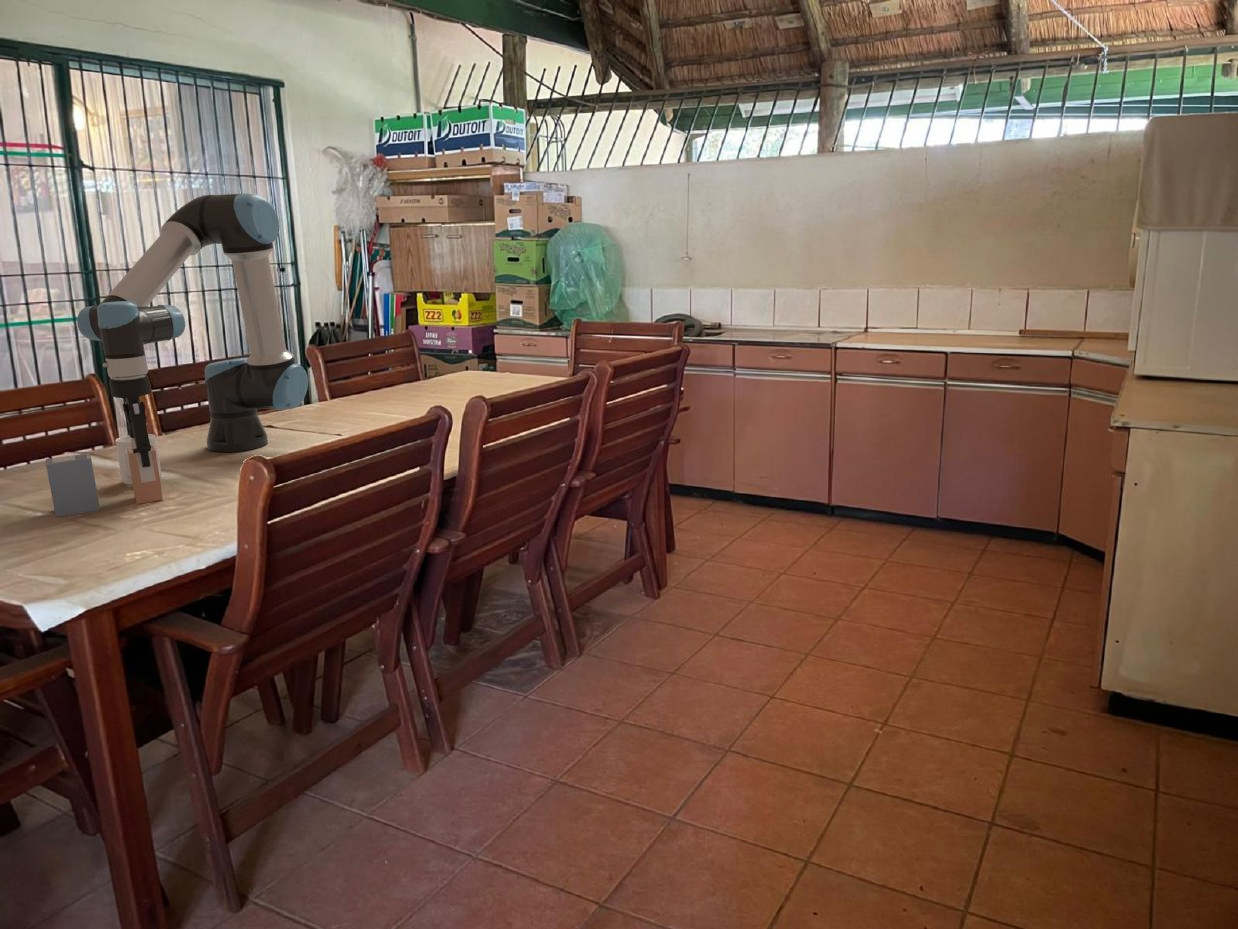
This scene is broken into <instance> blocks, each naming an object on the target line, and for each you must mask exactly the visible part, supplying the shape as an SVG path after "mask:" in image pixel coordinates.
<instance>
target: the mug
mask: <svg viewBox="0 0 1238 929" xmlns="http://www.w3.org/2000/svg"><path fill="white" fill-rule="evenodd" d="M148 437H149V442H150V445H153V447H154V449H155V451H156V457H157V464H158V470H159V477H160V479H162V469H161V463H160V457H159V449H158V442H157V437H156V435H155V434H151V433H148ZM130 439H133V438H131V437H130V435H125V436H121V437H118V438H116V439H115V441H114V442H115V446H116V452H117V458H118V465H119V470H120V476H121V481H122V483H123V484H125V485H127V486H133V484H132V478H131V471H130V465H129V459H128V453H127V448H128V447H131V448H132V445H131V440H130Z"/></svg>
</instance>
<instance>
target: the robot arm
mask: <svg viewBox="0 0 1238 929" xmlns="http://www.w3.org/2000/svg"><path fill="white" fill-rule="evenodd" d="M280 229H281V228H280V219H279V216H278V214H277V211H276V209H275V208H274V206H273V205H272V203H271V202H270V201H268V199H267V198H265V197H264V196H262V195H260V194H256V193H247V192H246V193H245V192H244V193H243V192H242V193H231V194H230V193H227V194H226V193H225V194H206V195H205V194H204V195H201V196H198V197H196V198H194V199H191V200H190V201H188V202H186V203H185V204H183V206H181V207H180V208H179V209H177V210H176V211H175V212H174V213H173V214H172V215H171V216H170V217H169V218H168V219H166V221H165V222H164V223H163V224H162V226H161V229H160V230H161V231H160V232H161V233H160V235H159V236H158V237H157V239H156V240H155V241H154V242H153V243H152V244H151V245H150V246H149V248H147V250H146V251H145V252H144V253H143V254H142V256H141V257H140V258H139V259H138V260H137V261H136V262H135V263H134V265H133V266H132V267H131V268H130V269H129V270H128V271H127V273H126V274H125V275H124V276H123V277H122V278H121V280H120V281H119V282H118V283H117V284H116V285H115V286H114V288H112V290H111V291H110V292H109V293H108V295H106V297H105V298H104V299H103V300H102V301H101V302H100V303H99V305H95V304H94V305H91V306H86V307H83V308H82V309H81V310H80V311H79V312H78V315H77V318H76V324H77V328H78V331H79V332H80V333H81V335H82V336H83V337H84V338H86V339H88V340H90V341H91V340H92V341H99V342H101V344H102V350H103V353H104V358H105V361H106V362H104V363H102V367H103V368H106V371H107V375H108V377H109V378H110V379H109V380H108V383H109V389H110V395H111V397H113V398H116V399H123V401H124V403H122V410H123V412H124V416H125V420H126V421H127V426H128V427H127V429H128V430H127V432H128V433H129V435H130V437H131V438H133V439H130V440H131V445H132V448H133V447H136V449H133V453H136V454H137V460H138V465H139V471H140V477H141V482H142V483H143V482H150V481H156V478H155V472H154V466H153V460H152V454H151V445H150V442H149V437H148V434H149V432H148V427H147V416H146V405H145V403H144V401H140V400H141V399H140V397H142V396H143V397H144V396H148V395H149V394H150V393H151V392H152V387H151V380H150V376H148V375H147V374H148V373H149V368H148V362H147V355H146V352H145V351H146V350H145V345H148V344H155V343H158V342H164V341H167V342H168V341H171V340H173V339H176V338H177V339H178V338H179V337H180V336H182V335H183V334H184V332H185V329H186V320H185V315H184V314H183V312H182V311H181V310H180V309H179V308H178V307H177V306H175V305H172V304H158V305H153V306H149V305H150V304H151V302H152V301H153V300H154V299H155V298H156V296H157V295H158V294H159V293H160V292H161V291H162V289H164V287H165V286H166V284H168V282H169V281H170V280H171V279H172V277H173V276H174V275H175V274H176V273H177V272H178V270H179V269H180V268H181V267H182V265H183V264H184V263H185V262H186V261H187V259H188V258H189V257H190V256H195V255H197V254H198V253H199V252H200V251H201V250H202V249H203V248H205V247H207V246H211V245H215V244H216V245H217V244H218V245H221V247H222V251H223V252H222V253H223V255H224V256H226V257H228V258H229V259H230V260H231V264H232V268H233V269H232V270H233V272H234V277H235V282H236V288H237V292H238V298H239V302H240V307H241V311H242V318H243V321H244V326H245V332H246V336H247V337H246V338H247V341H248V342H247V343H248V345H249V347H248V348H249V352H250V355H249V356H248V357H247V356H246V357H238V358H232V359H226V360H221V361H216V362H211V363H208V364H207V365H206V366H205V368H204V378H205V379H204V384H205V389H206V396H207V401H208V402H207V403H208V409H209V415H210V423H209V427H208V432H207V435H206V436H207V437H206V446H207V447H206V449H207V450H209V451H210V452H211V451H212V452H217V453H229V452H231V453H232V452H233V453H234V452H241V451H242V452H243V451H249V450H254V449H258V448H262V447H265V446H266V445H268V443H269V442H268V441H269V440H268V434H267V432H266V430H265V428H264V426H263V423H262V422H261V419H260V417H259V415H258V409H264V410H277V411H283V410H292V409H296V408H297V407H298V406H300V405H301V404H302V403H303V401H304V399H305V396H306V394H307V392H308V387H309V386H308V385H309V381H308V380H309V378H308V374H307V371H306V370H305V369H304V367H303V366H302V365H299V364H298V363H296V361H295V356H294V354H293V353H292V352H290V351H289V350H287V348H286V344H285V343H286V342H285V338H284V337H285V336H284V332H283V326H282V322H281V315H280V310H279V307H278V306H279V305H278V300H277V296H276V295H277V294H276V290H275V284H274V279H273V273H272V269H271V264H270V258H269V256H270V254H271V253H272V251H273V250H274V244H273V243H274V242H275V241H276V240H277V239H278V237H279V231H280ZM129 435H128V436H129Z"/></svg>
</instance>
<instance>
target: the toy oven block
mask: <svg viewBox="0 0 1238 929" xmlns="http://www.w3.org/2000/svg"><path fill="white" fill-rule="evenodd" d="M45 466H46V472H47V476H48V481H49V482H48V484H49V488H50V494H51V499H52V505H53V510H54V514H55V518H57V517H63V516H65V517H66V516H71V515H76V514H83V513H90V512H96V511H100V510H101V509H100V508H101V507H100V502H99V496H98V495H99V494H98V491H97V490H98V489H97V485H96V479H95V473H94V466H93V461H92V457H91V453H90V452H86V453H82V454H81V453H80V454H75V455H65V456H59V457H52V458H50V457H49V458H45Z"/></svg>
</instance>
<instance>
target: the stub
mask: <svg viewBox="0 0 1238 929" xmlns="http://www.w3.org/2000/svg"><path fill="white" fill-rule="evenodd" d="M133 449H136V447H133V448H131V447H128V448H127V453H128V459H129V465H130V471H131V478H132V484H133V485H132V489H133V494H134V500H135V502H136V504H137V505H139V504H145V503H152V502H157V501H163V500H164V497H163V492H162V484H161V483H162V482H161V478H160V477H159V470H158V464H157V457H156V451H155V449H154V447H153V445H151V454H152V460H153V466H154V472H155V478H156V481H150V482H143V483H142V482H141V477H140V471H139V465H138V460H137V454H136V453H133Z"/></svg>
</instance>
